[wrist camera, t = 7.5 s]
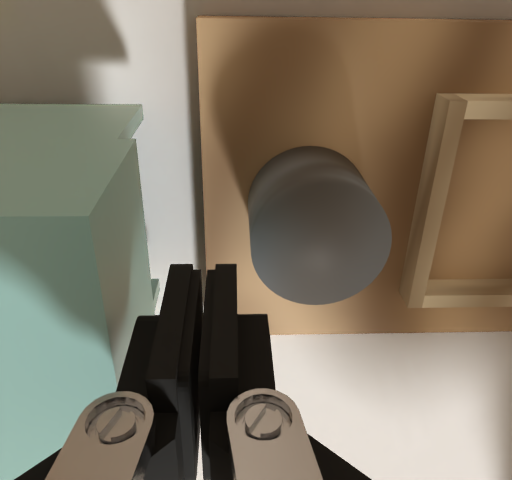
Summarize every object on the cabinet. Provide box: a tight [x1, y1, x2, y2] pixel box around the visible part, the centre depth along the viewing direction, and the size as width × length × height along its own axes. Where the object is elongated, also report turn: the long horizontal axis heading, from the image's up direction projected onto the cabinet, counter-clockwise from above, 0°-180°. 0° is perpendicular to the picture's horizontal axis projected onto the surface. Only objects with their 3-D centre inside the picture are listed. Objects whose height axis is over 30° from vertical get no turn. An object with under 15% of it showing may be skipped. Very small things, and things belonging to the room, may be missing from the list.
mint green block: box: [0, 104, 160, 480], centre depth 14 cm, size 8×8×9 cm
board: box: [196, 16, 512, 335], centre depth 18 cm, size 17×13×5 cm
